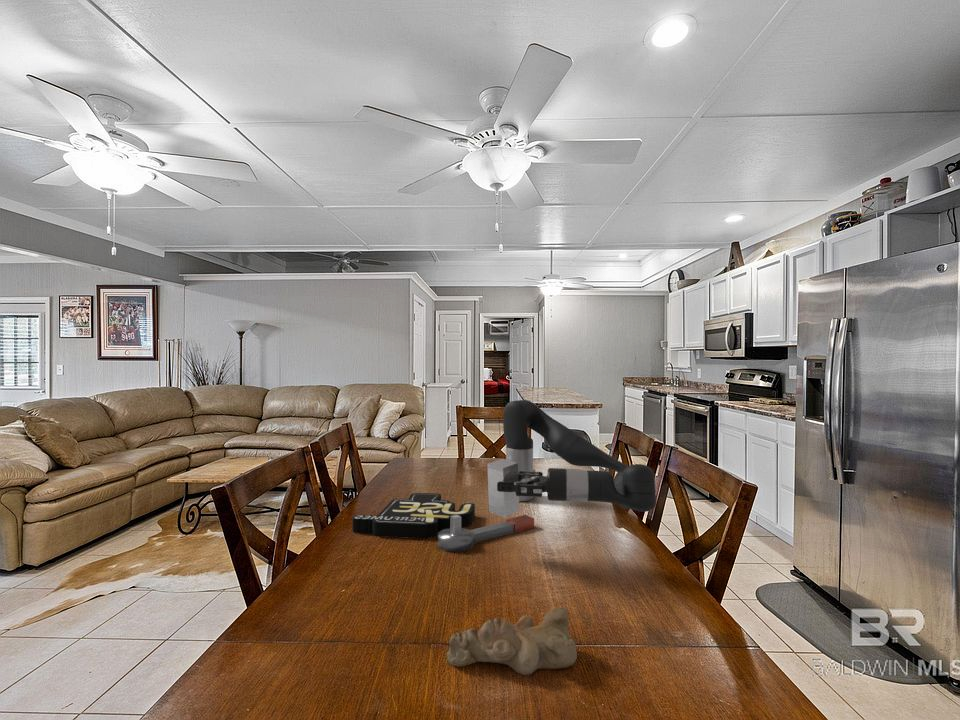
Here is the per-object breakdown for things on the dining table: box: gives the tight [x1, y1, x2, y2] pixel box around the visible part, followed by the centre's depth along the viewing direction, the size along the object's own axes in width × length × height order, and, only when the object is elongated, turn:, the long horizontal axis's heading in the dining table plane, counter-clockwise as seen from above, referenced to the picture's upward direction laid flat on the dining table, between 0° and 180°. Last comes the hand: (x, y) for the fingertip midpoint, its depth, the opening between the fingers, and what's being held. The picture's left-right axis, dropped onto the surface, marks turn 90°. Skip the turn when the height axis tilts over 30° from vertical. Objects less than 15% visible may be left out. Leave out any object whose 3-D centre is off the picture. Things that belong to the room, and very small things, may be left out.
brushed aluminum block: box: [486, 458, 520, 519], centre depth 117 cm, size 5×5×12 cm
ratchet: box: [437, 514, 535, 553], centre depth 128 cm, size 30×9×7 cm, turn 126°
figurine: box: [445, 607, 578, 676], centre depth 76 cm, size 12×8×20 cm
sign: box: [351, 492, 476, 539], centre depth 142 cm, size 32×4×30 cm
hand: (499, 482), depth 117 cm, fingers closed on brushed aluminum block, 7 cm apart
